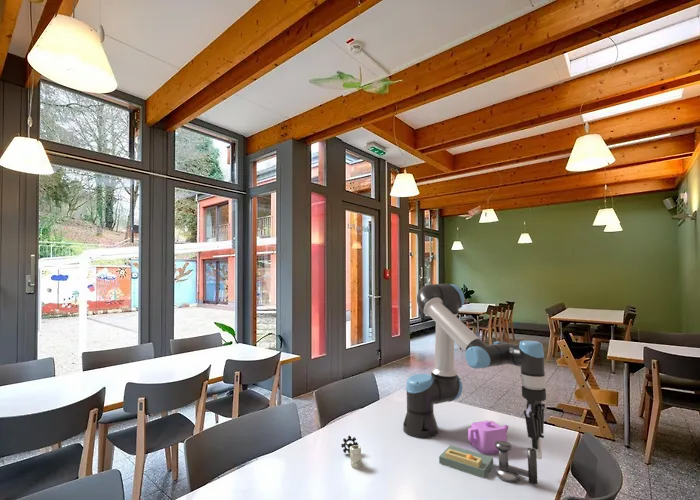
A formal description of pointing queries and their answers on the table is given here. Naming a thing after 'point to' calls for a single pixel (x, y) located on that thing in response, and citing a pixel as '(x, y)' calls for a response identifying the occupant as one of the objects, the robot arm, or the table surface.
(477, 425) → the teapot
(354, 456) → the valve
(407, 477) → the table surface
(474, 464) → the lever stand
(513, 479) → the cam capstan
